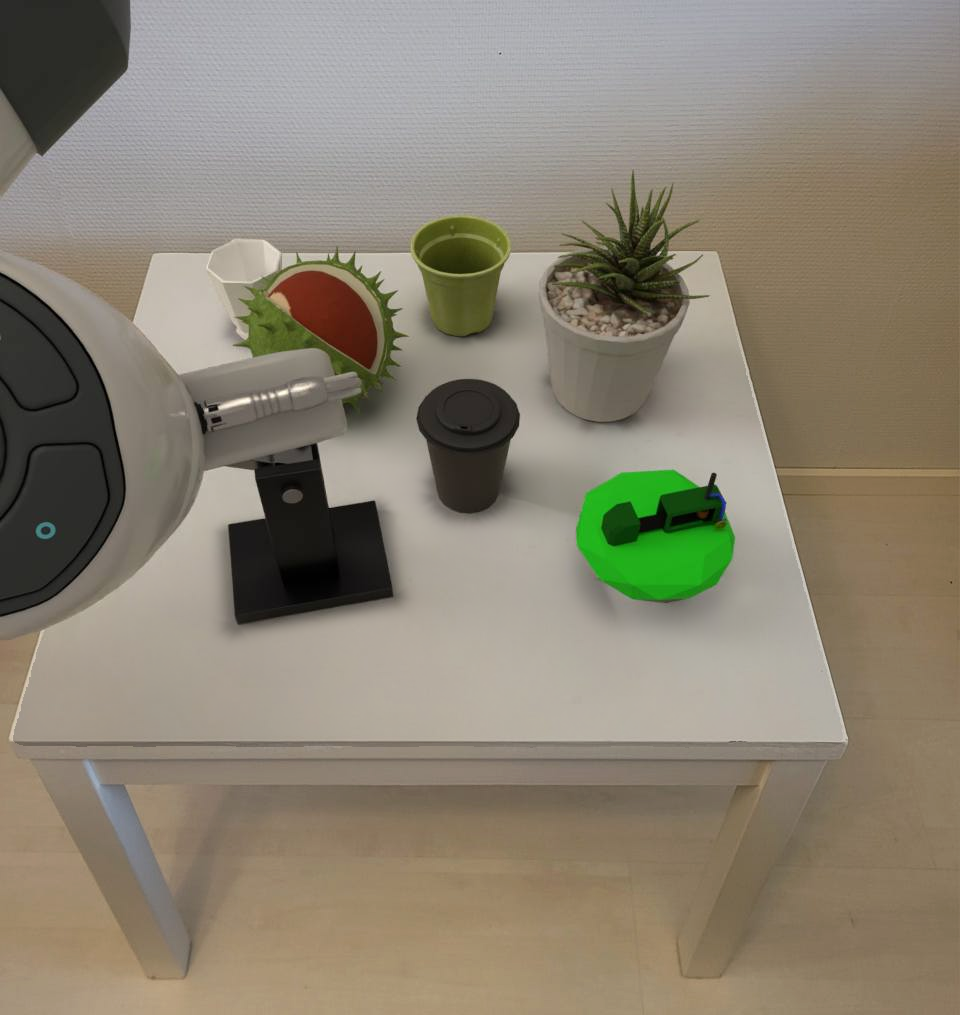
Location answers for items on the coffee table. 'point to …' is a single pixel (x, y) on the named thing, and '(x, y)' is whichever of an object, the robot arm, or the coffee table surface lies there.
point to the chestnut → (326, 318)
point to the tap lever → (277, 459)
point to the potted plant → (613, 315)
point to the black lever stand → (305, 548)
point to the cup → (242, 274)
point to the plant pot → (461, 270)
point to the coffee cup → (468, 441)
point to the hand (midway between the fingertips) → (119, 450)
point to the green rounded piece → (656, 535)
